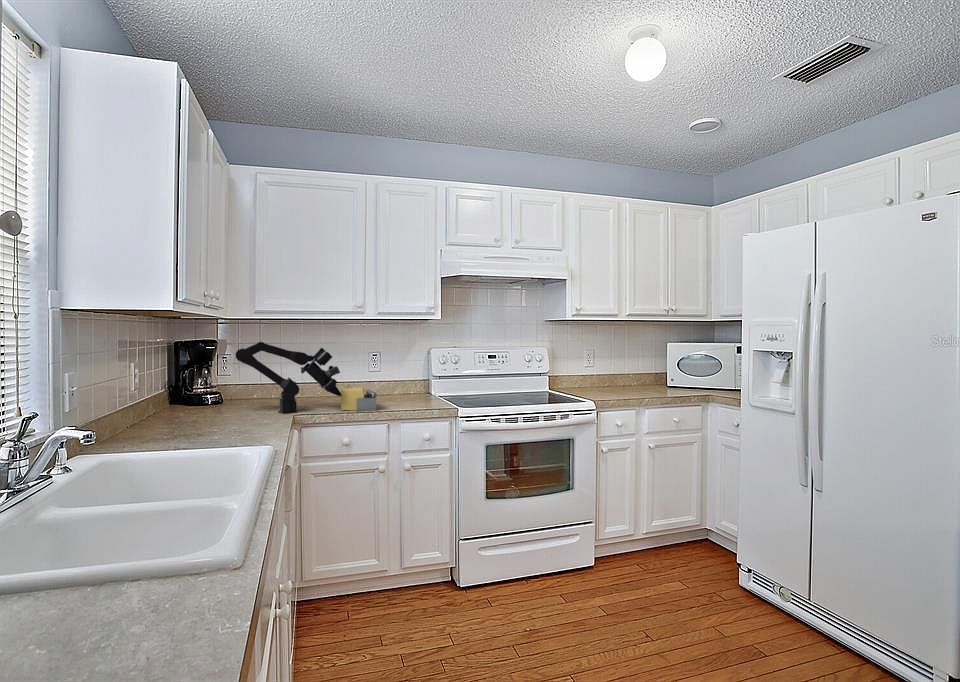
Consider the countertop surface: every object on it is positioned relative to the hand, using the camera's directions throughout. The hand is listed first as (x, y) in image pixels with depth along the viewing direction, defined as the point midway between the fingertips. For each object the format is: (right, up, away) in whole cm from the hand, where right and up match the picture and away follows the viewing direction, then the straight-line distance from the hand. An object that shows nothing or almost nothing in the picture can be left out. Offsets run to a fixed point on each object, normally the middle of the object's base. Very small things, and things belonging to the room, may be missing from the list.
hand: (341, 395), depth 278 cm
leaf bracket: (+10, -7, +4) cm, 13 cm away
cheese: (+5, -7, +2) cm, 9 cm away
